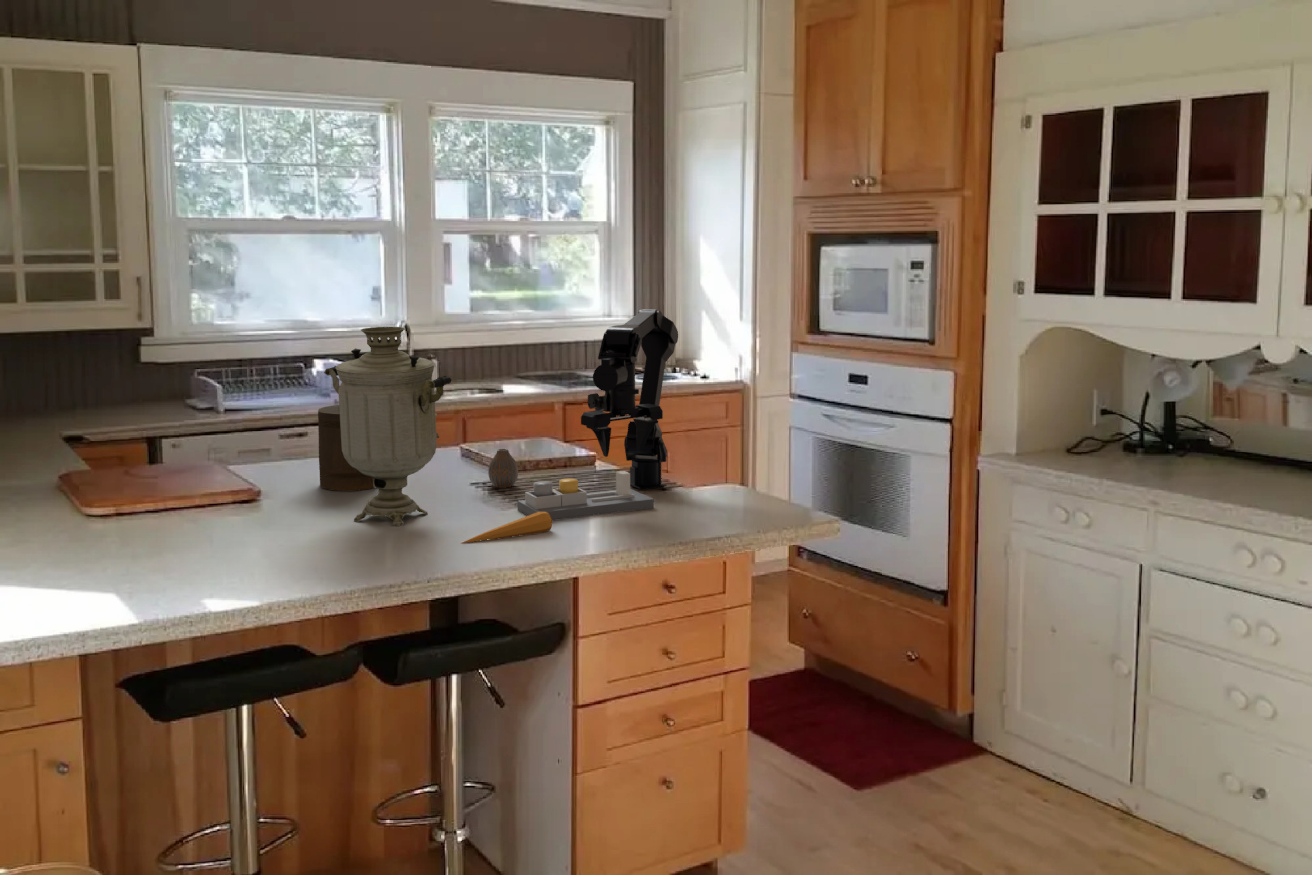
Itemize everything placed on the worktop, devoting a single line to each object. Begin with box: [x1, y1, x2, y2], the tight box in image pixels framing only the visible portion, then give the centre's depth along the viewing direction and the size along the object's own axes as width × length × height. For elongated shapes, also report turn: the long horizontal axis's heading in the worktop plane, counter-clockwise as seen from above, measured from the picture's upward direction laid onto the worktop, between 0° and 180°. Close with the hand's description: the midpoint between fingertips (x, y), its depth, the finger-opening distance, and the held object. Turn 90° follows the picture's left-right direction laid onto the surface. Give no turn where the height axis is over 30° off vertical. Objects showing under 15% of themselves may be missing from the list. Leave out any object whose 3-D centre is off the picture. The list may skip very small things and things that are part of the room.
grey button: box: [532, 480, 553, 497], centre depth 267 cm, size 4×4×3 cm
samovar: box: [323, 326, 453, 527], centre depth 262 cm, size 30×26×40 cm
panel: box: [517, 487, 655, 521], centre depth 272 cm, size 27×12×4 cm, turn 118°
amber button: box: [558, 478, 579, 494], centre depth 270 cm, size 4×4×3 cm
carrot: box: [461, 512, 553, 544], centre depth 249 cm, size 20×4×4 cm, turn 122°
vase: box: [487, 448, 519, 489], centre depth 293 cm, size 7×7×9 cm
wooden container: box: [317, 404, 376, 492], centre depth 293 cm, size 15×15×22 cm
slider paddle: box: [615, 470, 631, 495], centre depth 276 cm, size 2×3×5 cm, turn 28°
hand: (622, 453), depth 278 cm, fingers open, 9 cm apart
